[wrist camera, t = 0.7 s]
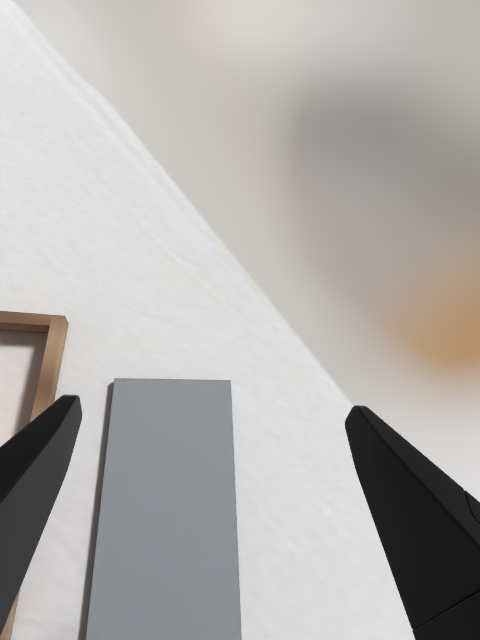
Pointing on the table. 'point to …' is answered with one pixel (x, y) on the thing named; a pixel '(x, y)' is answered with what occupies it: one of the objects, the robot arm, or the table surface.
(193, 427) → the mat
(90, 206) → the table surface
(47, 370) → the organizer
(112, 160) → the table surface
